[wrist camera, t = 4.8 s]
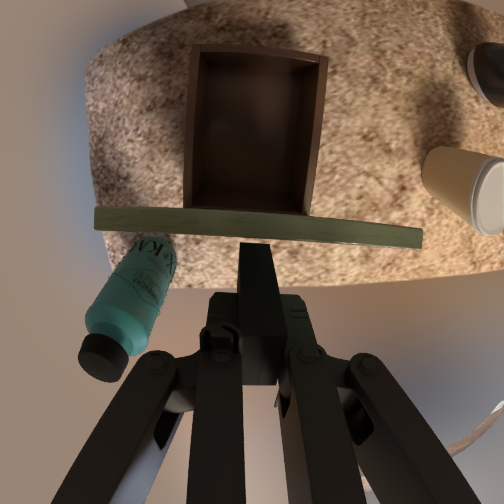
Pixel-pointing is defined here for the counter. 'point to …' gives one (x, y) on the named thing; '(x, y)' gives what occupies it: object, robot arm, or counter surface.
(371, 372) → the robot arm
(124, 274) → the beverage bottle
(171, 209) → the lid
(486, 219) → the coffee cup
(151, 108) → the counter surface
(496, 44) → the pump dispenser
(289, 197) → the brown wooden box
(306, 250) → the counter surface
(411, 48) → the counter surface
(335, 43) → the counter surface
